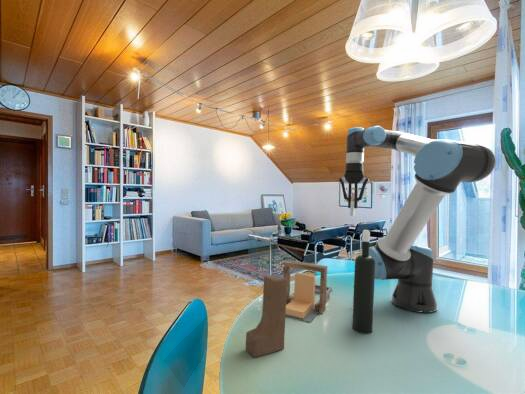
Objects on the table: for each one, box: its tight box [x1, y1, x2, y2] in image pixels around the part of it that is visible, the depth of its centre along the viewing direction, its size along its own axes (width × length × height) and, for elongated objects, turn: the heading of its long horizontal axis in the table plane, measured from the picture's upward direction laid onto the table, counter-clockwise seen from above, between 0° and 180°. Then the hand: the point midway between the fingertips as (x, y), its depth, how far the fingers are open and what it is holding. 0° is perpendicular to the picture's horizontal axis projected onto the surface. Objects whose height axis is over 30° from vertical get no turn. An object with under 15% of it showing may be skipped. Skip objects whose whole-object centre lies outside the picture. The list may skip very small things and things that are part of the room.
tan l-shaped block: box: [286, 272, 317, 319], centre depth 97 cm, size 12×7×11 cm, turn 153°
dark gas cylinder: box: [351, 229, 376, 335], centre depth 86 cm, size 6×6×30 cm
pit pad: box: [315, 284, 333, 295], centre depth 121 cm, size 8×8×1 cm
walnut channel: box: [282, 259, 331, 315], centre depth 107 cm, size 16×15×16 cm
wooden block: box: [245, 274, 287, 358], centre depth 72 cm, size 9×4×18 cm, turn 122°
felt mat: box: [285, 308, 320, 324], centre depth 96 cm, size 11×12×1 cm
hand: (352, 215), depth 127 cm, fingers closed
